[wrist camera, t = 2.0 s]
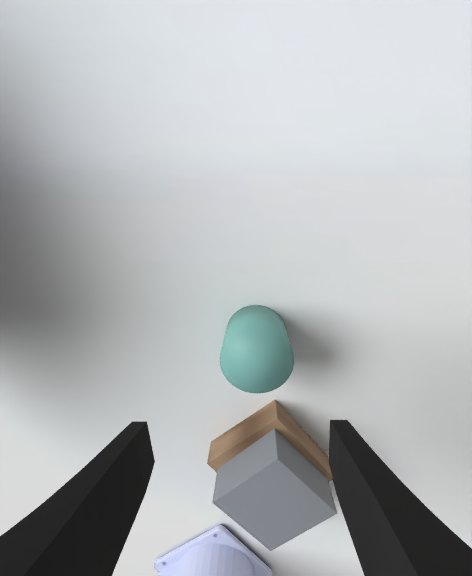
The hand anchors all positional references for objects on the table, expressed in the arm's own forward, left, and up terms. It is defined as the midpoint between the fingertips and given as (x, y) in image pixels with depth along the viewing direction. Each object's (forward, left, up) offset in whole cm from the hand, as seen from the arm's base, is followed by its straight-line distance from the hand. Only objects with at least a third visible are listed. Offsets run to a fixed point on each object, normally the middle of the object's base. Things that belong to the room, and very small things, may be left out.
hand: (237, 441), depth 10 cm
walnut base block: (-5, -9, -10) cm, 15 cm away
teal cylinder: (+1, 0, -10) cm, 10 cm away
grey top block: (-5, -10, -8) cm, 13 cm away
